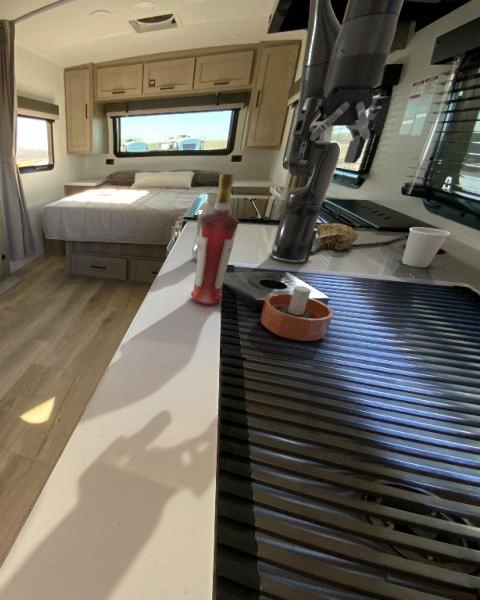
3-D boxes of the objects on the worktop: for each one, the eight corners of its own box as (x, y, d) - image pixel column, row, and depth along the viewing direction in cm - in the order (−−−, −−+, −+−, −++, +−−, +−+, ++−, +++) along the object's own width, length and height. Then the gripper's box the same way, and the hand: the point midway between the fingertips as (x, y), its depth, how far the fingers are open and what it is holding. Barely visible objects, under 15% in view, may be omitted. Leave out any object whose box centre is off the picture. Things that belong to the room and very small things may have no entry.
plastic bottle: (215, 264, 99) (227, 195, 90) (191, 263, 101) (201, 195, 92) (211, 257, 105) (223, 192, 96) (189, 256, 106) (198, 191, 97)
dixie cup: (441, 269, 93) (459, 235, 89) (407, 268, 95) (422, 233, 90) (420, 260, 101) (436, 227, 96) (389, 258, 102) (402, 226, 98)
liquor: (190, 292, 82) (209, 171, 69) (222, 297, 79) (247, 172, 67) (187, 304, 76) (206, 174, 63) (221, 310, 73) (248, 175, 61)
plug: (295, 318, 68) (307, 283, 65) (311, 331, 64) (325, 294, 60) (272, 319, 68) (282, 283, 64) (286, 332, 63) (297, 294, 60)
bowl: (300, 313, 71) (307, 292, 69) (339, 342, 61) (348, 319, 59) (249, 315, 71) (254, 294, 69) (279, 344, 61) (286, 320, 59)
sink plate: (283, 281, 87) (286, 271, 86) (325, 310, 73) (329, 297, 71) (223, 283, 87) (225, 272, 85) (253, 311, 72) (256, 299, 71)
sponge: (350, 257, 107) (364, 233, 118) (352, 234, 104) (366, 212, 115) (303, 255, 117) (320, 233, 128) (303, 234, 114) (320, 213, 124)
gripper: (332, 50, 50) (302, 165, 57) (423, 49, 51) (382, 163, 58) (301, 61, 57) (277, 162, 64) (382, 60, 57) (349, 161, 64)
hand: (327, 163), depth 61 cm, fingers open, 8 cm apart
